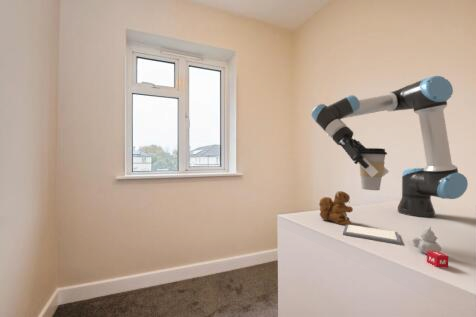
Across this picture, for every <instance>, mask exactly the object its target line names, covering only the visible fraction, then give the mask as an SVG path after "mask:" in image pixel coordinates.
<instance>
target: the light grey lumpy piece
mask: <svg viewBox="0 0 476 317" xmlns="http://www.w3.org/2000/svg"><path fill="white" fill-rule="evenodd" d="M420 237H421V238H419V237H412V238H411V240H412V246H413V247H414V248H418V249H419V250H420V252H422V253H423V254H425V255H427V251H438V252H440V253H441V252H442V246H441V245H440V244H439V243H437V240H438V237H437V236H436V235H435V233H434V231H432V227H431V226H429V228H428V229H426V230H424V231H423V232H421V234H420Z"/></svg>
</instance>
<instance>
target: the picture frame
mask: <svg viewBox="0 0 476 317" xmlns="http://www.w3.org/2000/svg"><path fill="white" fill-rule="evenodd" d="M344 226H345V227H344V229H343V232H342V235H343V236H348V237H354V238H359V239H366V240H371V241H376V242H377V241H378V242H382V243H383V242H384V243H387V244H396V245H400V246H401V245H402V241H401V237H400V235H399V233H398V232H397V231H394V230H393V231H392V230H386V229H379V228H373V227H367V226H362V225H361V226H360V225H354V224H350V225H347V224H346V225H344Z"/></svg>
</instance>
